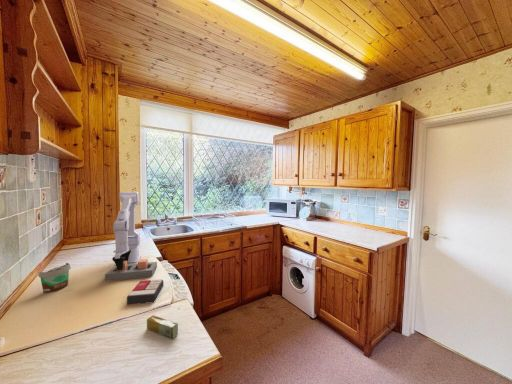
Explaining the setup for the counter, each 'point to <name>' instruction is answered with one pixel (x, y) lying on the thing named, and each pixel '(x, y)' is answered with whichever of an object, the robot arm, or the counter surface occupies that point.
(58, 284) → the food container
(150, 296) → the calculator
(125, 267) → the plug
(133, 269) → the dock
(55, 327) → the counter surface
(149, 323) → the medication box
